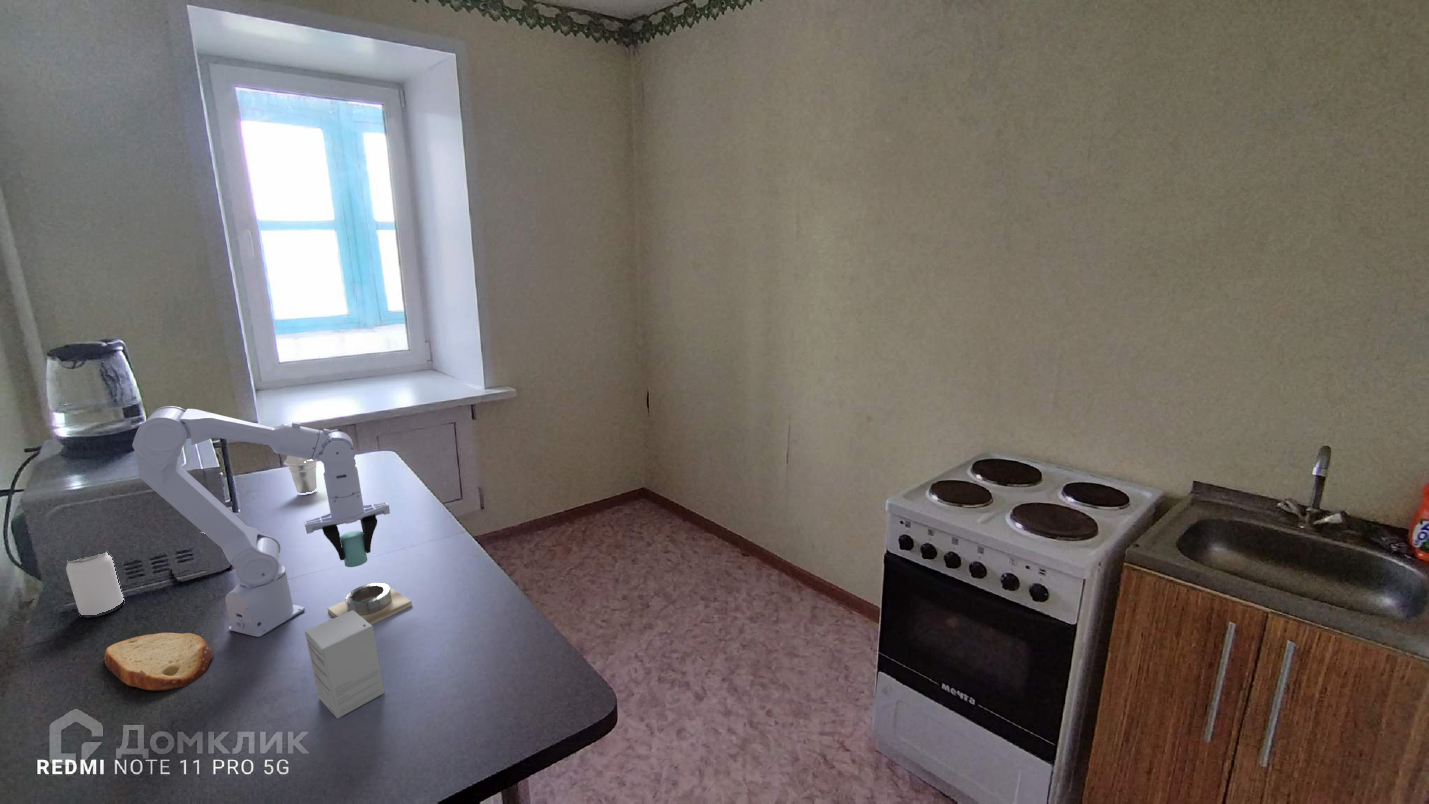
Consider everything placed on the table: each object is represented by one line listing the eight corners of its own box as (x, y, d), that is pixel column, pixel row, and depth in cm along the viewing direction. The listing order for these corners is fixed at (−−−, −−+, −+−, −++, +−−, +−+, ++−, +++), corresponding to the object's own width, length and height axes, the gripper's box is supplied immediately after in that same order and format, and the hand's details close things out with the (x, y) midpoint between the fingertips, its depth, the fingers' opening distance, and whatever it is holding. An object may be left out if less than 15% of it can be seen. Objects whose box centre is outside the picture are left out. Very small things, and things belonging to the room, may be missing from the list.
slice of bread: (114, 648, 112) (109, 630, 111) (234, 626, 118) (230, 608, 117) (55, 717, 95) (49, 697, 94) (198, 687, 102) (193, 667, 101)
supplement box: (366, 674, 104) (354, 608, 101) (385, 694, 99) (374, 625, 96) (317, 698, 98) (303, 629, 95) (335, 720, 94) (321, 648, 91)
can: (134, 601, 126) (119, 547, 123) (100, 620, 119) (84, 564, 116) (105, 599, 126) (90, 546, 123) (70, 618, 120) (53, 562, 117)
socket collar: (369, 618, 118) (367, 607, 117) (338, 611, 120) (336, 600, 119) (399, 597, 124) (397, 586, 124) (370, 591, 127) (368, 580, 126)
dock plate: (411, 605, 123) (411, 601, 123) (354, 632, 115) (353, 628, 115) (384, 587, 130) (384, 583, 130) (328, 612, 121) (327, 608, 121)
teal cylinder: (356, 568, 124) (351, 540, 122) (340, 565, 125) (335, 538, 123) (371, 558, 127) (367, 532, 126) (356, 556, 128) (351, 529, 127)
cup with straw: (288, 501, 174) (275, 433, 169) (291, 490, 182) (279, 424, 177) (323, 495, 178) (311, 428, 173) (325, 484, 186) (314, 420, 181)
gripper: (302, 508, 115) (315, 574, 118) (388, 489, 123) (398, 551, 127) (298, 496, 120) (311, 560, 124) (381, 479, 129) (390, 538, 132)
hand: (354, 554), depth 126 cm, fingers closed on teal cylinder, 4 cm apart
